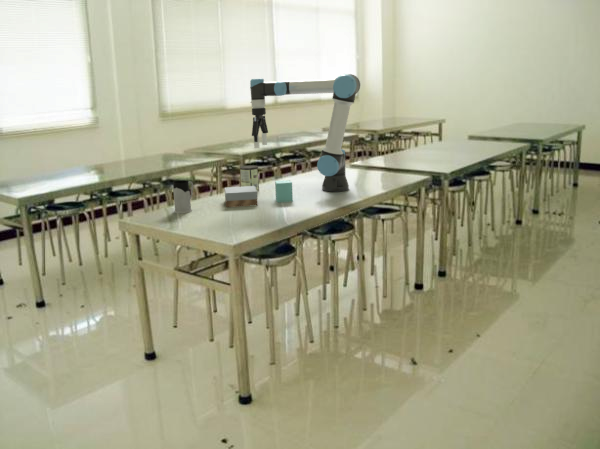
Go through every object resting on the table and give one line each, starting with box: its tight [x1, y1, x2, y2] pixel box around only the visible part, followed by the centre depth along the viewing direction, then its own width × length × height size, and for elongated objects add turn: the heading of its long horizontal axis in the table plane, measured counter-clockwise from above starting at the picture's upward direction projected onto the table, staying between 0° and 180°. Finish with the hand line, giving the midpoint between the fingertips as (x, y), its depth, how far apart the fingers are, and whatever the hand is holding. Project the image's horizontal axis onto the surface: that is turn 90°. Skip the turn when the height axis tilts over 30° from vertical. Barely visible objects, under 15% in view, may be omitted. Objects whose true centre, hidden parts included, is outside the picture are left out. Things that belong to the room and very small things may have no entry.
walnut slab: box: [224, 196, 259, 208], centre depth 309 cm, size 16×16×4 cm
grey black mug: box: [172, 179, 194, 214], centre depth 295 cm, size 9×14×15 cm, turn 156°
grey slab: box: [224, 186, 258, 201], centre depth 308 cm, size 16×16×4 cm
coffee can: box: [239, 164, 260, 192], centre depth 340 cm, size 10×10×14 cm
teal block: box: [274, 179, 294, 203], centre depth 311 cm, size 8×8×10 cm
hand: (260, 146), depth 328 cm, fingers open, 13 cm apart
